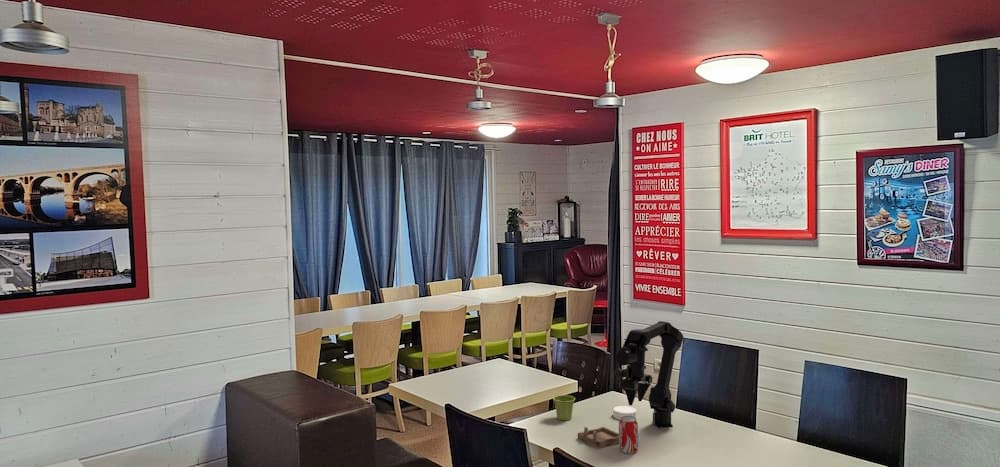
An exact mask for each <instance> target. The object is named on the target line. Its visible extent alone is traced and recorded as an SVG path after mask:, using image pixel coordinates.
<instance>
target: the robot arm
mask: <svg viewBox="0 0 1000 467" xmlns="http://www.w3.org/2000/svg"><path fill="white" fill-rule="evenodd" d="M658 336H659V338H661V340H660V344H661V346H662V349H663V352H662V355H661V356H662V357H661V359H660V365H659V366H660V367H659V371H658V376H657V380H656V384H655V385H654V386H651V383H653V376H652V375H651V374H647V373H646V374H645V370H646V369H647V365H645V363H646V362H645V361H646V360H645V358H646V352H648V351H649V349H648V347H646V346H648V345H649V344H651V340H652V339H654V338H657V337H658ZM683 341H684V335H683V334H682V331H680V329H678V328H677V327H675V326H673V325H672V324H671V323H670V322H669V321H661V320H660V321H657V323H654V324H652V325H649V326H647V327H646V328H642V329H641V328H640V329H637V328H636V329H631V330H630V331H629V332H628V334H627V336H626V338H625V341H624V342H623V345H622V346H621V347H620V350H619V351H617V353H616V355H615V360H616V362H617V364H618V365H620V366H626V368H623V369H622V368H621V367H618V368H615V369H614V372H613V376H614V377H616V378H615V379H616V380H620V379H621V380H620V381H619V386H618V387H619V388H621V390H623V391H624V392H625V394H626V398H627V402H628V406H630V407H633V404H634V401H635V399H636V396H637V398H638V399H637V400H638V402H642V400H643V399H644V397H645V395H646V393H647V391H648V390H650V391H649V395H648V403H649V407H650V409H652V410H653V412H652V422H651V423H652V424H654V425H655V426H656V427H657V428H666V427H668V428H669V427H673V426H674V425H673V424H672V413H674V412H675V409H676V404H675V403H674V402H673V400H672V392H671V389H670V382H671V377H672V372H673V367H674V364H675V363H674V362H675V358H676V353H677V352H678V351H679V350H680V349H681V348H682V343H683ZM650 386H651V388H650ZM649 388H650V389H649Z"/></svg>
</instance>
